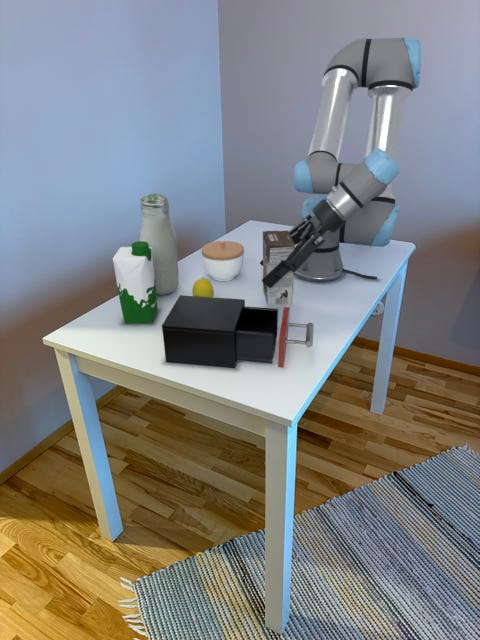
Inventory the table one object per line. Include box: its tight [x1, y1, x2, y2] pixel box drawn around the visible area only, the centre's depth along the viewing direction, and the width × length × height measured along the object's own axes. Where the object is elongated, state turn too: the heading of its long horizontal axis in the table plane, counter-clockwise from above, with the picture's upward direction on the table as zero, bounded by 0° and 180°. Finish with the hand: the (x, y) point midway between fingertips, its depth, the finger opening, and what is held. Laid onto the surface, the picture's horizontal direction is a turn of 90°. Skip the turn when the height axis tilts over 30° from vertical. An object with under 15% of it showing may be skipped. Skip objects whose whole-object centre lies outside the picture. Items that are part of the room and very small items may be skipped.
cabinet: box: [161, 294, 246, 369], centre depth 105 cm, size 16×14×10 cm
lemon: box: [192, 277, 214, 298], centre depth 124 cm, size 6×6×8 cm
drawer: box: [235, 305, 315, 369], centre depth 103 cm, size 20×13×8 cm, turn 81°
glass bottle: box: [138, 193, 180, 296], centre depth 126 cm, size 10×10×28 cm
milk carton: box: [112, 240, 158, 324], centre depth 116 cm, size 9×9×20 cm
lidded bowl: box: [200, 240, 245, 282], centre depth 139 cm, size 13×13×11 cm
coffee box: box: [262, 230, 296, 308], centre depth 112 cm, size 9×6×16 cm
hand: (264, 274), depth 113 cm, fingers closed on coffee box, 9 cm apart
